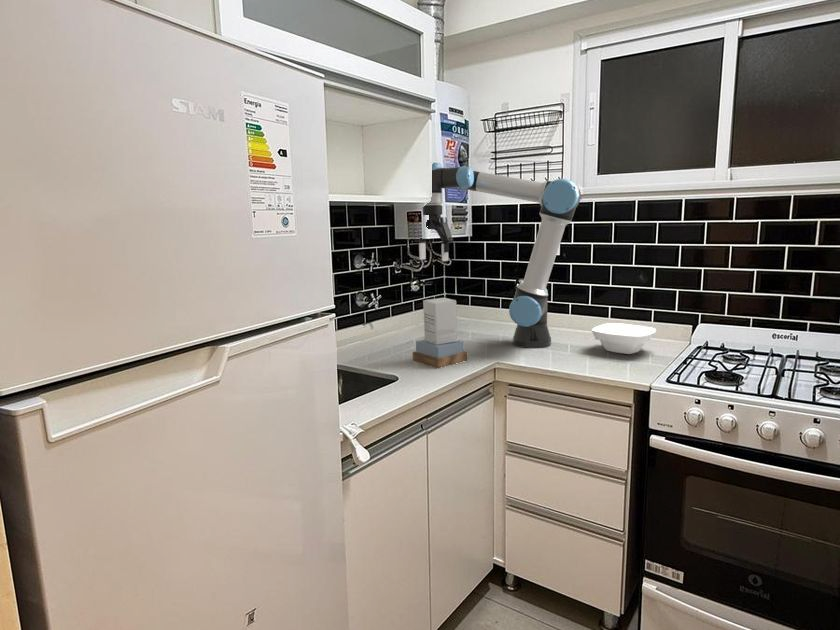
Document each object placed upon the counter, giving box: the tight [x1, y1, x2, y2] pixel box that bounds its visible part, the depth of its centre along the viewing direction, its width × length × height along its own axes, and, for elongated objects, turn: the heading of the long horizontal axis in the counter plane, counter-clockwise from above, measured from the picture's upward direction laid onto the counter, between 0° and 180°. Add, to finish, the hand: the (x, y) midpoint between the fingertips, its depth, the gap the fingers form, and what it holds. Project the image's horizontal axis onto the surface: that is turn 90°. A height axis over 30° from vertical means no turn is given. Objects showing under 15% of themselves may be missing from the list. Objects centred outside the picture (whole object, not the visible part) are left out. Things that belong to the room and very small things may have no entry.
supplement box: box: [422, 297, 458, 345], centre depth 190 cm, size 9×9×15 cm
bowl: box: [591, 322, 657, 355], centre depth 199 cm, size 21×21×9 cm
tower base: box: [412, 350, 469, 369], centre depth 192 cm, size 14×14×4 cm
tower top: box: [415, 339, 464, 358], centre depth 192 cm, size 12×12×4 cm
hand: (433, 260), depth 209 cm, fingers open, 13 cm apart
